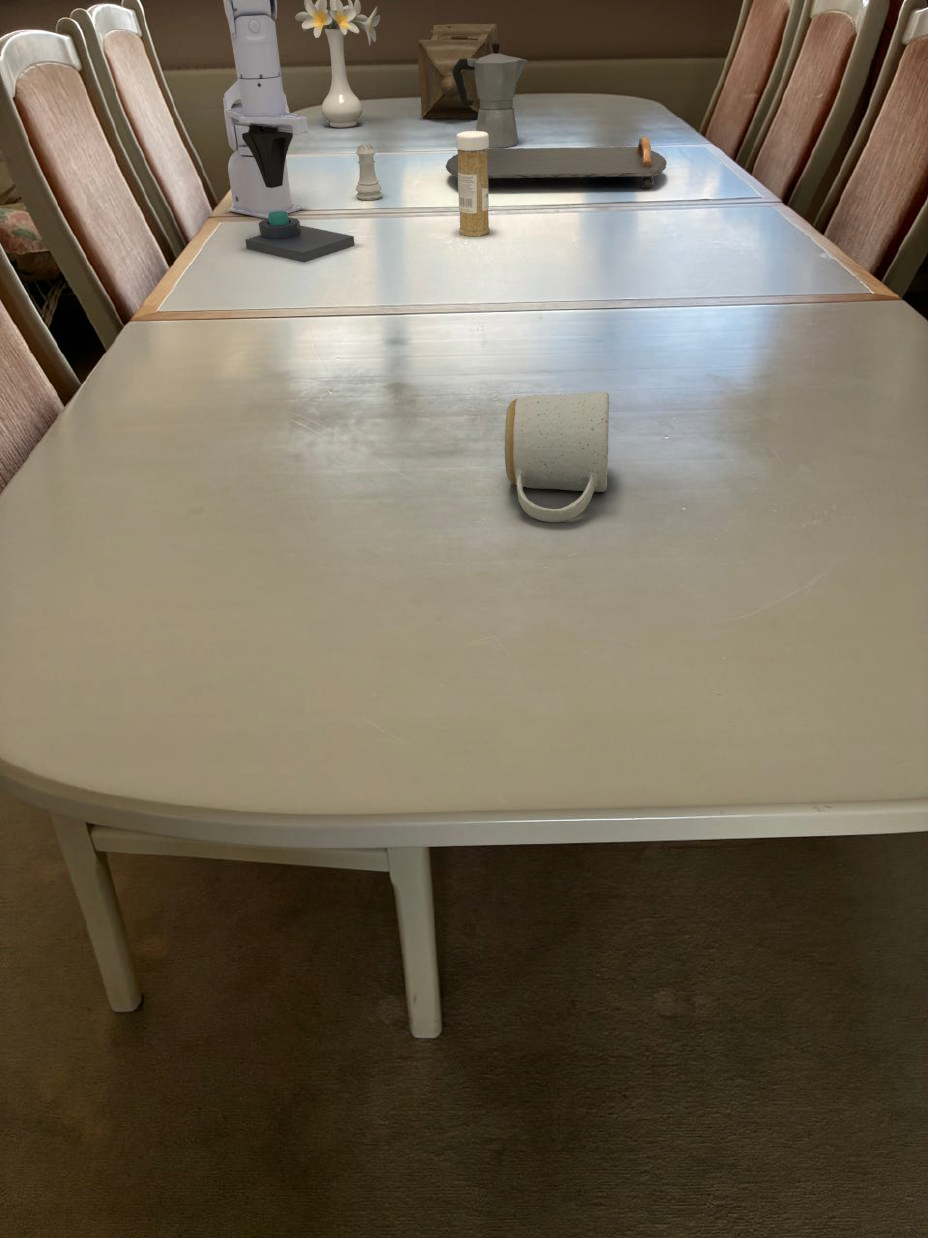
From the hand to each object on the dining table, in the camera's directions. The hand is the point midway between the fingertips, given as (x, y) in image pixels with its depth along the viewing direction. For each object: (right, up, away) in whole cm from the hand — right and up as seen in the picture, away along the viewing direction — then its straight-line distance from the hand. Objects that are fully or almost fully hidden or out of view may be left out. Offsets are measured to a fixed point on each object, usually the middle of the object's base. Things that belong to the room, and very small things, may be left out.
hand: (274, 186), depth 135 cm
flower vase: (0, +52, +85) cm, 100 cm away
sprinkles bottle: (+28, -4, +7) cm, 29 cm away
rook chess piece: (+11, +10, +27) cm, 30 cm away
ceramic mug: (+35, -51, -58) cm, 84 cm away
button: (0, -4, +3) cm, 5 cm away
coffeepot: (+32, +36, +62) cm, 79 cm away
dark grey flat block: (+3, -8, +3) cm, 9 cm away
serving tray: (+43, +17, +35) cm, 58 cm away
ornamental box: (+25, +60, +95) cm, 115 cm away
